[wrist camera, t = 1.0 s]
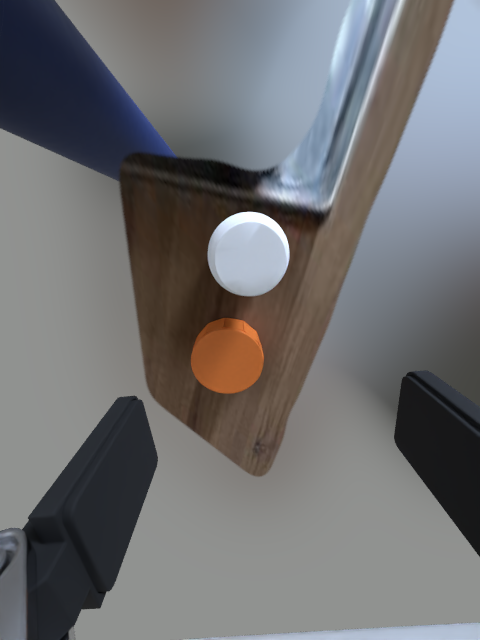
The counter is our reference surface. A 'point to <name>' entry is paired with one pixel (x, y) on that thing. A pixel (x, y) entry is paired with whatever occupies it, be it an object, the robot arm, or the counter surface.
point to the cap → (227, 356)
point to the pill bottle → (248, 254)
